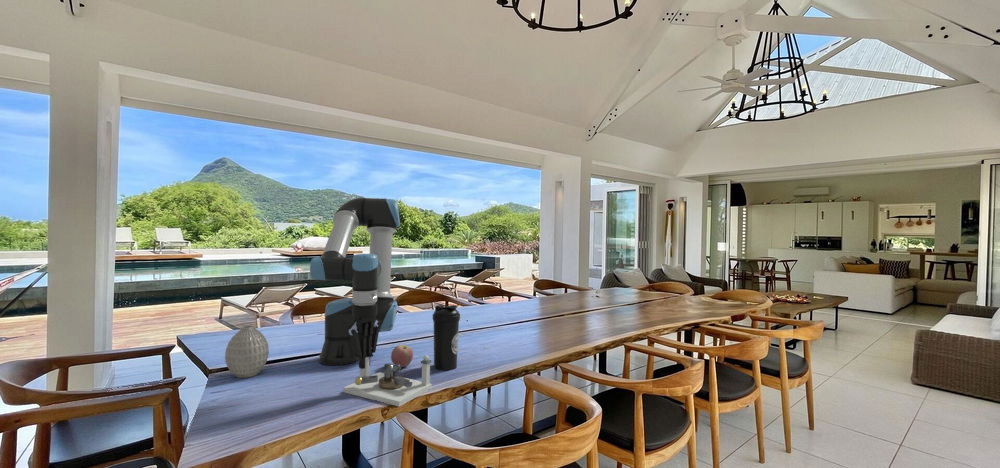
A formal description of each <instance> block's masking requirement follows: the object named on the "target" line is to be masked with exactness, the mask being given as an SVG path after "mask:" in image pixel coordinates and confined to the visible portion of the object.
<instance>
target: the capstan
mask: <svg viewBox="0 0 1000 468" xmlns="http://www.w3.org/2000/svg"><path fill="white" fill-rule="evenodd" d="M400 371H402V367H401V365H399V364H396V365H395V364H394V363H390V362H389V363H385V364H384V365H383V373H384V377H382V378H380V379H379V387H380V388H382V389H396V388H400V387H402V386H405V387H407V388H409V387H411V386H412V381H411V380H410V379H411V378H408V379H405V378H406V377H404V376H402V375H397V374H399V372H400ZM374 382H378V376H377V375H375V376H372V375H369V376H367V377H360V376H357V377H356V378H355V380H354V383H355V384H356V385H361V384H366V383H374Z"/></svg>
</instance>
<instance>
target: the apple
mask: <svg viewBox="0 0 1000 468" xmlns="http://www.w3.org/2000/svg"><path fill="white" fill-rule="evenodd" d="M413 351H414V350H413V349H412V348H411V347H410V345H409V346H408V345H407V344H398V345H396V346H395V347H394V348H393V349H392V352H391V353H390V354H391V355H390V357H391V358H390V359H391V362H392V364H393V365H394V366H395V365H396V364H399V365H401V368H405V367H407V366H409V364H411V362H413V361H412V360H413V358H414V352H413Z"/></svg>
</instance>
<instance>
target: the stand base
mask: <svg viewBox="0 0 1000 468" xmlns="http://www.w3.org/2000/svg"><path fill="white" fill-rule="evenodd" d="M422 358H423V360H421V361H420V364H421V380H416V379H413V378H412V379H411V378H407V377H404V378H405V379H410V380H411V381H412V386H411V387H409V388H407V387H405V386H402V387H400V388H396V389H382V388H380V387H379V379H380V378H382V377H384V372H381V371H380V372H377V373H374V374H372V375H371V376H375V375H377V376H378V382H374V383H366V384H361V385H356V384H355V382H353V383H351V384H348V385H346V386H344V387H343V393H346V394H349V395H353V396H357V397H360V398H366V399H368V400H372V401H375V400H377V401H376V402H379V401H380V403H383V402H384V403H383V404H388V405H390V406H396V407H398V408H399V407H401V406H403V405H404V404H407V403H408V402H410V401H412V400H414V399H415V398H418V397H420V396H421V395H422V393H423V394H424V393H426V392H428V391H429V389H430V390H432V387H433V386H432V385H433V384H432V383H431V381H430V380H431V379H430V378H431V377H430V375H431V363H432V360H430V357H429V355H423V357H422Z"/></svg>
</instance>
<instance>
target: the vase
mask: <svg viewBox="0 0 1000 468" xmlns="http://www.w3.org/2000/svg"><path fill="white" fill-rule="evenodd" d="M269 351H270V349H269V343H268V340H267V338H266V337H265V335H264V334H263V333H262V332H261V331H259V330H258V329H257V328H256V327H255V326H254V325H251V324H250V325H243V326H241V327H240V328H239V330H238V331H237V332H236V333H234V335H233V336H232V337H231V338H230V340H229V341H228V343H227V345H226V348H225V354H224V359H225V360H224V361H225V364H226V367H227V369H228V370H229V372H230V373H231V374H232V375H233V376H235V377H236V378H238V379H247V378H251V377H255V376H257V375H258V374H260V372H261V371H262V370H263V369H264V367H265V365H266V363H267V362H268V358H269V353H270V352H269Z"/></svg>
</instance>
